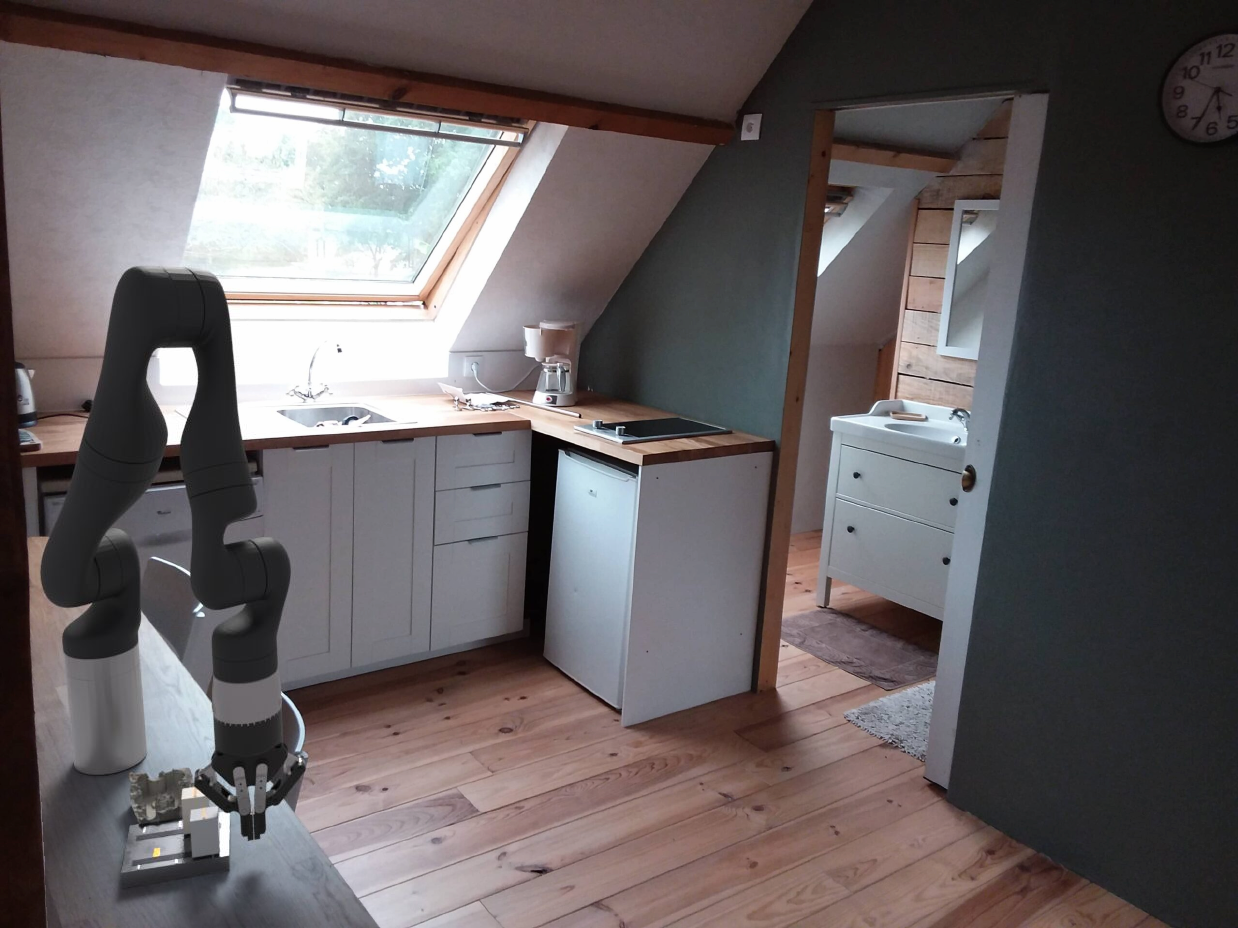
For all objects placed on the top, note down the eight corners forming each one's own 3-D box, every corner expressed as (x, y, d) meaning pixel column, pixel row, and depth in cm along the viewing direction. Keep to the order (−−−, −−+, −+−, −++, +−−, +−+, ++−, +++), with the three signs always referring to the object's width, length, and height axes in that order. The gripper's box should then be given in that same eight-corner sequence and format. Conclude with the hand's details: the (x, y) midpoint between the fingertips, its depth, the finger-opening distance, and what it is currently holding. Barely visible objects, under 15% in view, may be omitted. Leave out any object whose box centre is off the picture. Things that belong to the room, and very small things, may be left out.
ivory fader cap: (184, 823, 123) (182, 788, 122) (211, 819, 124) (209, 784, 123) (183, 834, 121) (181, 798, 119) (210, 830, 122) (208, 794, 120)
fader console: (131, 839, 123) (129, 824, 122) (230, 824, 127) (229, 809, 126) (122, 887, 114) (121, 872, 114) (229, 869, 118) (228, 854, 118)
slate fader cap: (193, 845, 119) (190, 809, 117) (220, 840, 120) (218, 805, 118) (192, 857, 116) (189, 820, 115) (219, 852, 117) (217, 816, 116)
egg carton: (128, 797, 131) (126, 769, 131) (190, 783, 135) (188, 756, 134) (135, 840, 122) (133, 810, 122) (201, 824, 126) (199, 795, 125)
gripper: (305, 684, 121) (309, 810, 126) (187, 697, 117) (195, 827, 121) (309, 713, 115) (313, 844, 119) (184, 728, 110) (193, 865, 114)
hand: (253, 835), depth 120 cm, fingers closed
